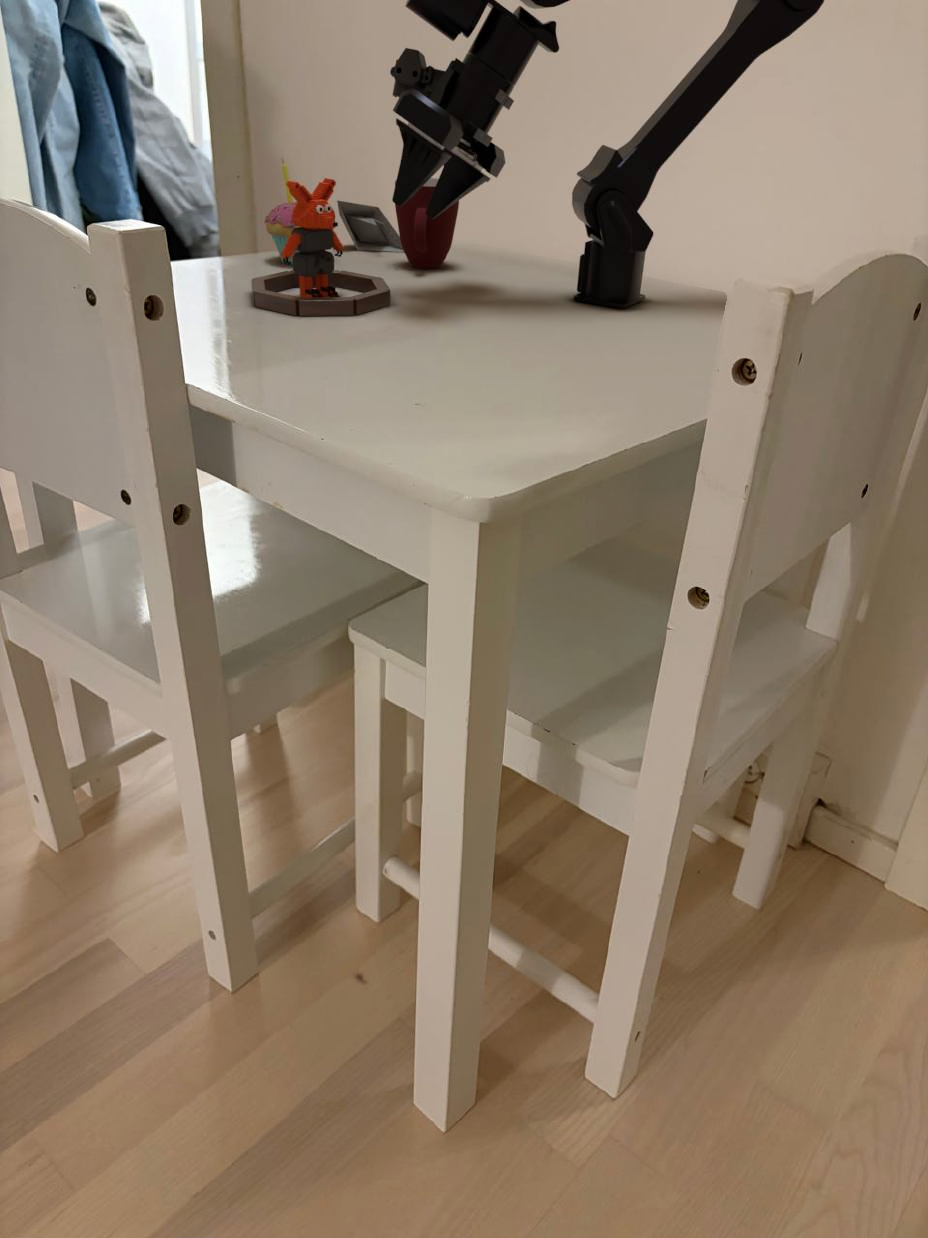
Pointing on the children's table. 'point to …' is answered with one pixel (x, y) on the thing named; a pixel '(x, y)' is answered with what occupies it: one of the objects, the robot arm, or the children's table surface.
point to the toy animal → (313, 238)
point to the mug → (425, 229)
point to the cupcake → (282, 219)
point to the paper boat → (369, 227)
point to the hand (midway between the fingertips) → (413, 210)
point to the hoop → (320, 306)
